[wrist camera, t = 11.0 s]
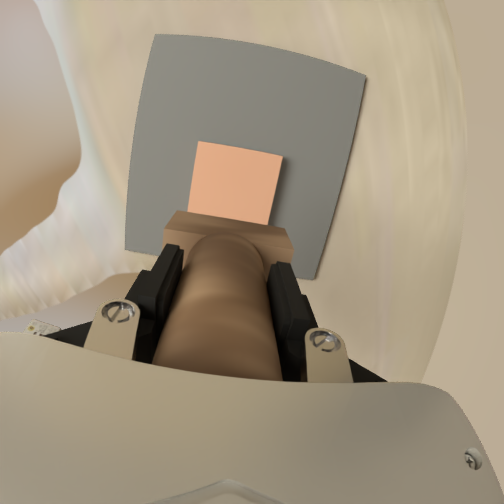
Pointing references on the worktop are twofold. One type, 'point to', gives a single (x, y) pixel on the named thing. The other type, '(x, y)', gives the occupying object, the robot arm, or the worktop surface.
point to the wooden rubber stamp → (222, 298)
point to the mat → (241, 133)
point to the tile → (233, 182)
